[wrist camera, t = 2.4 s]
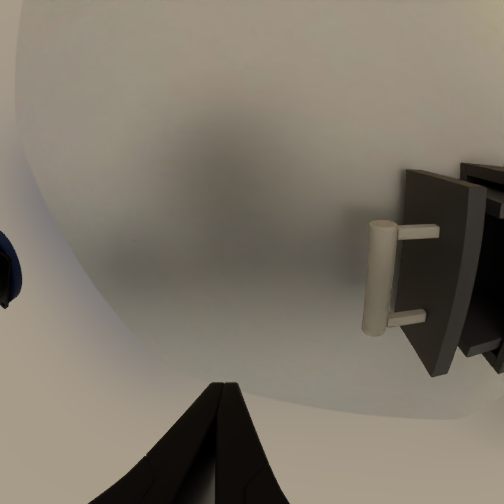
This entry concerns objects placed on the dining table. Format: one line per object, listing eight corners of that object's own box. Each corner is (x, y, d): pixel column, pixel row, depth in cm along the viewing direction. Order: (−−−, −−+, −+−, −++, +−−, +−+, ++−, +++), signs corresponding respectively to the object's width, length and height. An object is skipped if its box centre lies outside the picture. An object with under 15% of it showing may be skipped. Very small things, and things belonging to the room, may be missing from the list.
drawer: (343, 322, 20) (368, 390, 14) (346, 169, 17) (392, 184, 10) (501, 297, 19) (546, 338, 13) (520, 177, 16) (580, 197, 9)
